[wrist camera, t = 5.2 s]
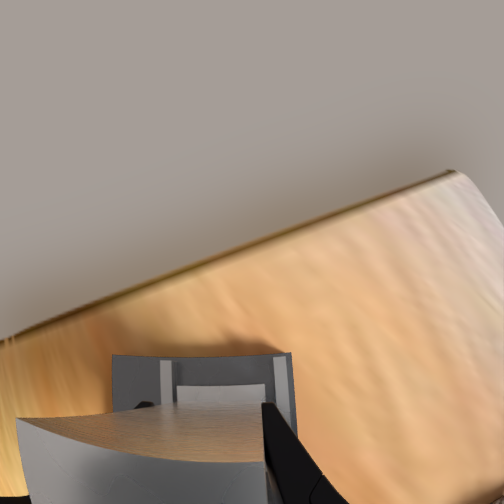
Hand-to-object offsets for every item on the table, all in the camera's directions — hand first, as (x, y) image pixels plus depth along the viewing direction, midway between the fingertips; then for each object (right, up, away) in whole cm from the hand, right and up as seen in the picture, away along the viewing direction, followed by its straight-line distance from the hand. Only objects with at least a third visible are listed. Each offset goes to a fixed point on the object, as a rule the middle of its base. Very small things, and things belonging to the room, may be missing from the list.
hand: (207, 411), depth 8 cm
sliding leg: (-1, -3, +4) cm, 5 cm away
